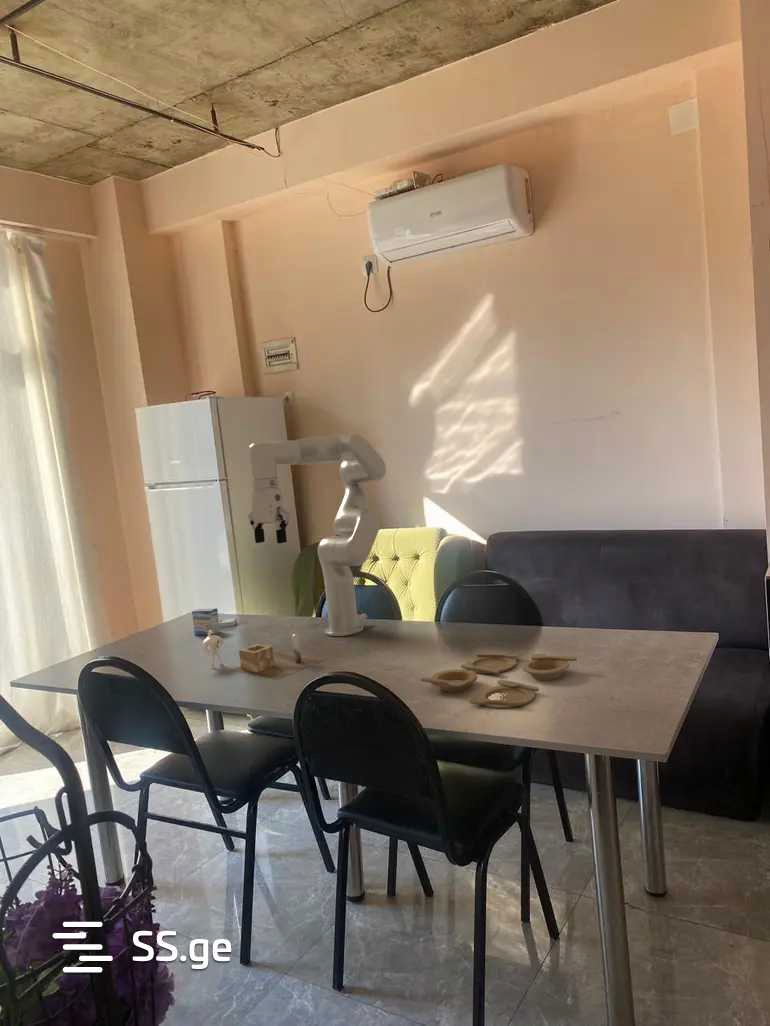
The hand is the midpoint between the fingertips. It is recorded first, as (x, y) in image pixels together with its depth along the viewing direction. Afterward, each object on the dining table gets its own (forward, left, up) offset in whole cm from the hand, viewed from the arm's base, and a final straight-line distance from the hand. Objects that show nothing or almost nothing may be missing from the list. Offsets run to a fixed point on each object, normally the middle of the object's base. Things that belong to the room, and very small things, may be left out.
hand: (270, 542), depth 222 cm
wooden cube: (+14, +5, -33) cm, 36 cm away
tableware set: (-6, +71, -35) cm, 79 cm away
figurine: (+18, -9, -35) cm, 40 cm away
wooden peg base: (+10, +9, -34) cm, 37 cm away
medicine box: (-9, -49, -35) cm, 61 cm away
